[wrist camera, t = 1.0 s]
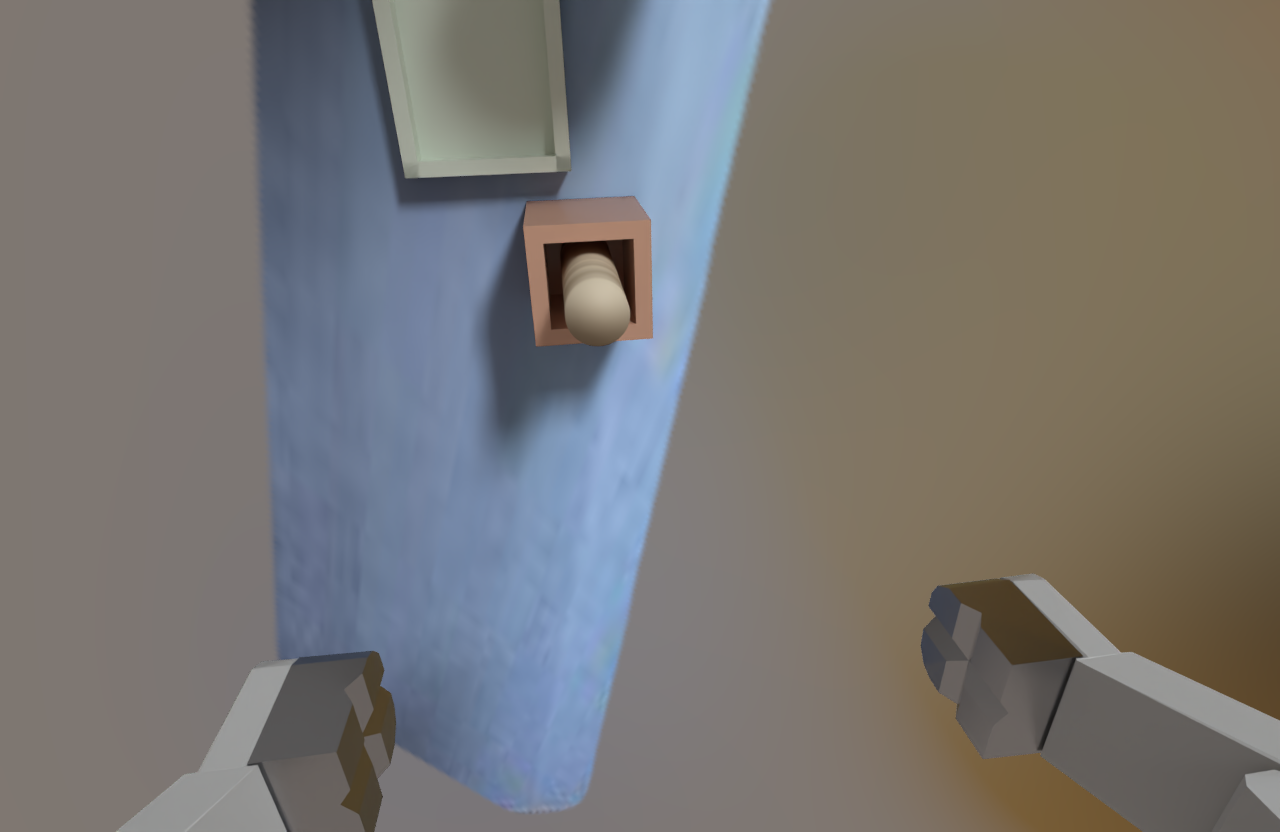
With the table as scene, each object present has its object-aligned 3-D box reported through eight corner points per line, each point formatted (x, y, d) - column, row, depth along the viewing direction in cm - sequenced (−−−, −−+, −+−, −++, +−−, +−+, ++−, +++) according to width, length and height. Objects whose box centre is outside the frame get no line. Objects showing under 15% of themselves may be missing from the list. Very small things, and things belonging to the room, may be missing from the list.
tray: (363, -91, 31) (353, -100, 30) (551, -92, 32) (552, -100, 30) (411, 173, 37) (405, 178, 35) (570, 167, 38) (571, 171, 36)
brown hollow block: (526, 201, 38) (523, 226, 32) (634, 196, 39) (650, 219, 33) (537, 305, 41) (536, 346, 35) (637, 299, 42) (652, 338, 36)
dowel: (558, 231, 39) (562, 286, 29) (608, 229, 39) (629, 281, 29) (562, 281, 40) (567, 348, 30) (610, 278, 40) (631, 344, 31)
